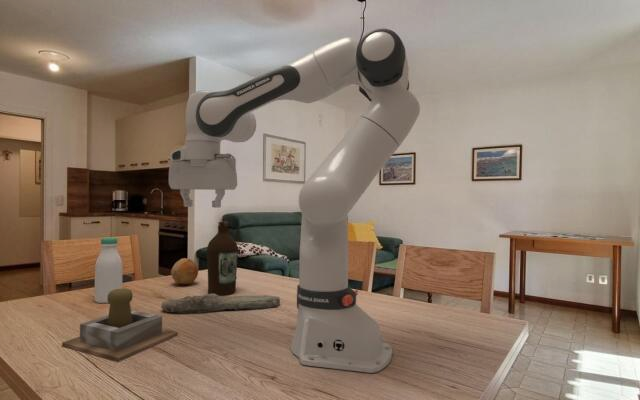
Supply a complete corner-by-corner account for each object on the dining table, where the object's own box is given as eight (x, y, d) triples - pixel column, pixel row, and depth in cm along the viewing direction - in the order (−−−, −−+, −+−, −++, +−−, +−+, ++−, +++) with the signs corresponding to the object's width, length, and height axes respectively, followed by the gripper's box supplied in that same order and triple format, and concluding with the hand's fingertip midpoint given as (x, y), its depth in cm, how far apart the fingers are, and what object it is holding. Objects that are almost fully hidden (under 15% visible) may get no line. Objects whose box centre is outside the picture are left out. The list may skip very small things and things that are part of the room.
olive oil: (200, 292, 130) (201, 221, 130) (227, 287, 137) (228, 220, 137) (215, 298, 122) (216, 223, 122) (243, 292, 129) (244, 222, 129)
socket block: (177, 335, 89) (177, 315, 89) (118, 361, 75) (118, 338, 74) (125, 323, 96) (125, 305, 96) (62, 346, 82) (62, 324, 82)
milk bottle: (127, 299, 119) (127, 238, 119) (102, 305, 112) (103, 240, 112) (114, 295, 123) (114, 236, 123) (89, 300, 117) (90, 238, 116)
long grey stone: (281, 314, 111) (277, 307, 121) (282, 297, 111) (278, 290, 121) (158, 315, 103) (163, 307, 112) (159, 296, 103) (165, 289, 113)
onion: (165, 286, 136) (165, 260, 136) (180, 281, 146) (180, 256, 146) (189, 288, 134) (189, 261, 134) (202, 282, 144) (203, 257, 144)
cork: (120, 342, 82) (120, 293, 82) (98, 339, 84) (99, 291, 84) (139, 333, 88) (140, 287, 88) (119, 330, 90) (119, 285, 89)
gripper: (242, 154, 95) (241, 207, 95) (182, 156, 103) (181, 205, 103) (227, 151, 89) (226, 208, 89) (164, 154, 97) (164, 206, 97)
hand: (202, 207), depth 96 cm, fingers open, 8 cm apart
